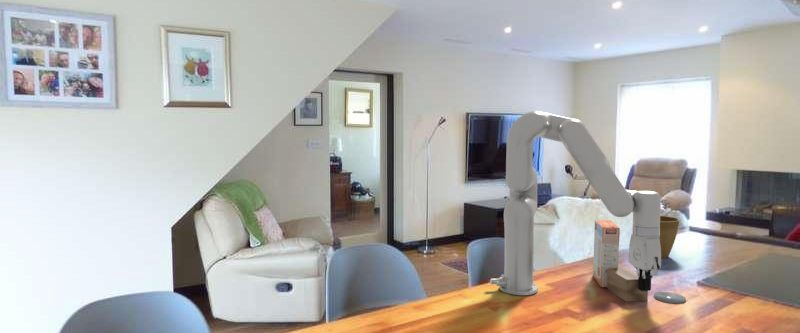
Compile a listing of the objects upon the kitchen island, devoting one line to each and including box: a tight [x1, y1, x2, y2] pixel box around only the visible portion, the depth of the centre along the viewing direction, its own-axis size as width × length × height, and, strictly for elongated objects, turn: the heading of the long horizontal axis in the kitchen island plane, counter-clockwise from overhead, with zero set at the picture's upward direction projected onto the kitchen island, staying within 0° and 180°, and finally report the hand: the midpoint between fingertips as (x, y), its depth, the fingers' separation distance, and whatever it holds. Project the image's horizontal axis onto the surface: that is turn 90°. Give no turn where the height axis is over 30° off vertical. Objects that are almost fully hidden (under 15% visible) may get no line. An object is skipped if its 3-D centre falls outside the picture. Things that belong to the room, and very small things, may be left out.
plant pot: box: [659, 215, 680, 259], centre depth 212 cm, size 15×15×16 cm
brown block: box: [607, 267, 649, 302], centre depth 165 cm, size 7×12×7 cm, turn 4°
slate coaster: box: [653, 291, 687, 304], centre depth 162 cm, size 9×9×1 cm
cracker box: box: [592, 219, 621, 289], centre depth 178 cm, size 14×6×21 cm, turn 169°
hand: (644, 289), depth 157 cm, fingers closed
